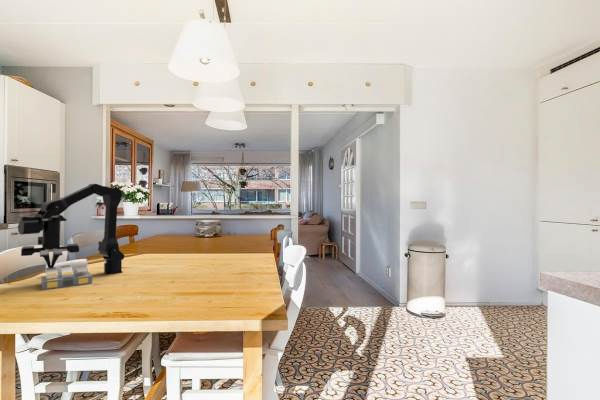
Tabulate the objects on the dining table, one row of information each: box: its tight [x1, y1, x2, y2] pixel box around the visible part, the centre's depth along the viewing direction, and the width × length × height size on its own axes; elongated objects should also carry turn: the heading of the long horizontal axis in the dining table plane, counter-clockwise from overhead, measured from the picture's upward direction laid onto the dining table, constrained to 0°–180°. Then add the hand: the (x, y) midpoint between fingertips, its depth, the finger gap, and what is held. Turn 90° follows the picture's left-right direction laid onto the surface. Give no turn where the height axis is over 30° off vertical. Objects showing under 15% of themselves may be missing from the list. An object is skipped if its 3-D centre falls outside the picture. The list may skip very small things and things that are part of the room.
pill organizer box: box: [40, 270, 93, 291], centre depth 136 cm, size 16×12×3 cm
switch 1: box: [44, 267, 58, 279], centre depth 133 cm, size 4×9×1 cm, turn 39°
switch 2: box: [60, 265, 73, 278], centre depth 136 cm, size 4×9×1 cm, turn 39°
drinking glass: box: [45, 258, 89, 274], centre depth 151 cm, size 7×7×15 cm
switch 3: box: [75, 267, 89, 272], centre depth 139 cm, size 4×9×1 cm, turn 39°
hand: (50, 270), depth 137 cm, fingers closed, pressing on switch 1
